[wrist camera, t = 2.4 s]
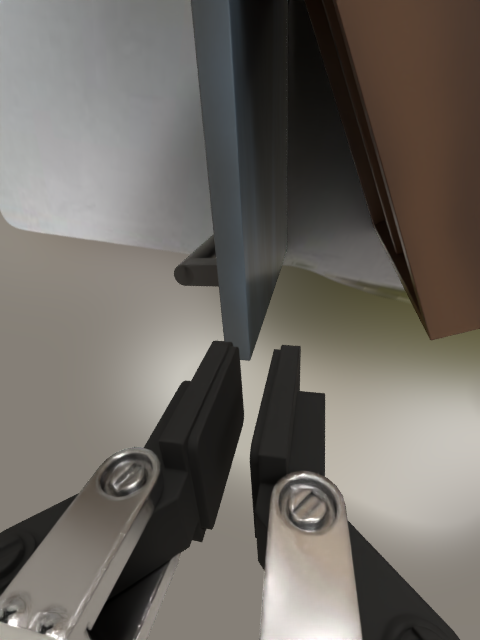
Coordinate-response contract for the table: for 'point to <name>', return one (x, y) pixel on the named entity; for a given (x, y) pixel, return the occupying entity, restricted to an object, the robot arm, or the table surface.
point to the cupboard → (414, 140)
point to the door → (242, 158)
